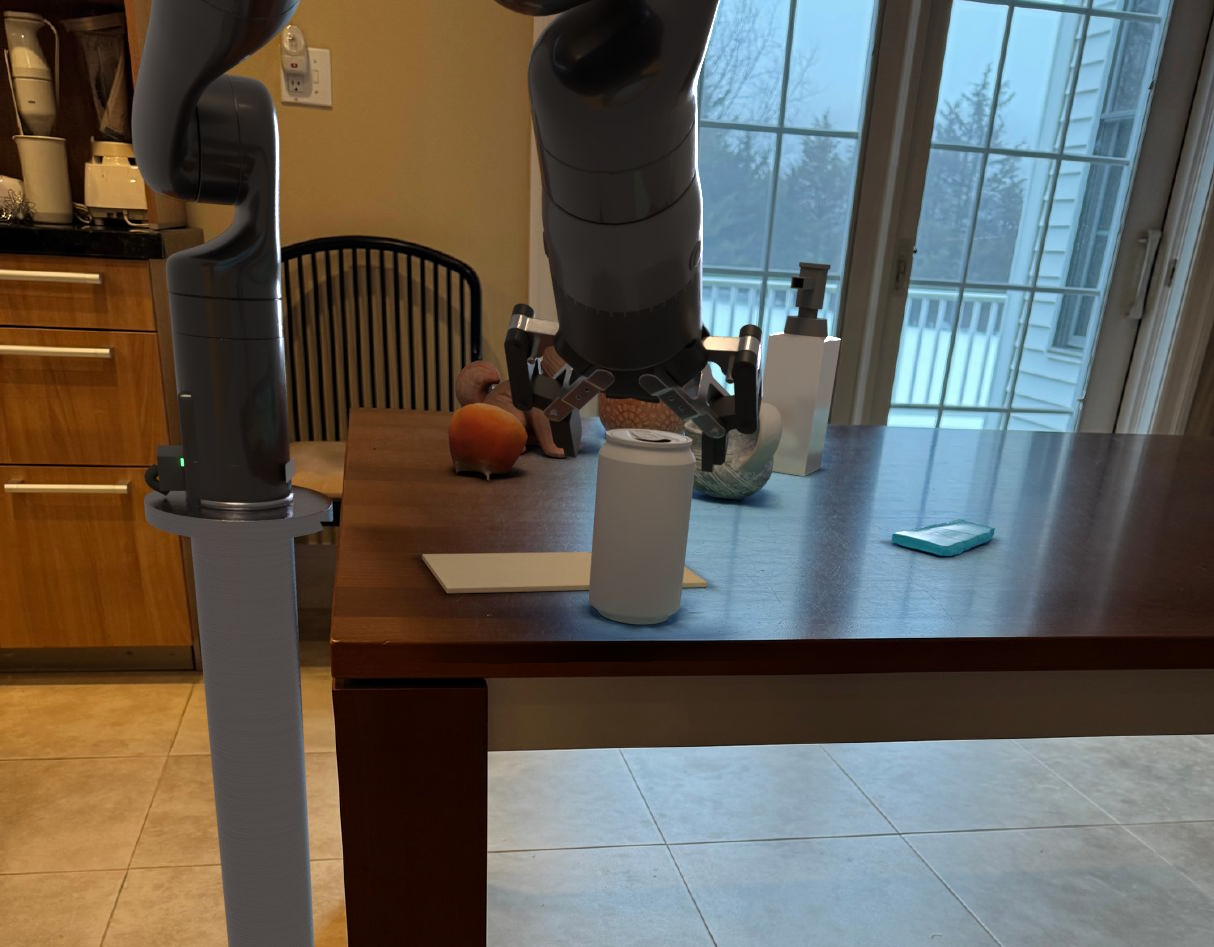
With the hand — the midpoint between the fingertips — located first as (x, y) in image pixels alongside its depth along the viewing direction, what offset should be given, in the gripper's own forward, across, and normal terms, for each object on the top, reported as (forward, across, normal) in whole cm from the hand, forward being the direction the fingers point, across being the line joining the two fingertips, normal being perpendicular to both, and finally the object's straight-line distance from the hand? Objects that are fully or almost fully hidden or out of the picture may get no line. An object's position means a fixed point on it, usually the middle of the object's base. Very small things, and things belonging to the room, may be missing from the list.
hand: (640, 452), depth 70 cm
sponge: (+35, -24, -18) cm, 46 cm away
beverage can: (+11, 0, +5) cm, 12 cm away
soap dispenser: (+56, -7, -40) cm, 69 cm away
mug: (+41, -3, -25) cm, 48 cm away
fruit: (+40, +23, -24) cm, 52 cm away
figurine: (+52, +22, -36) cm, 67 cm away
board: (+16, +7, 0) cm, 18 cm away
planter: (+63, +11, -47) cm, 79 cm away
